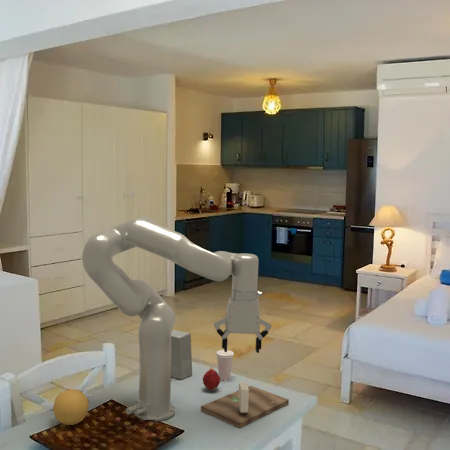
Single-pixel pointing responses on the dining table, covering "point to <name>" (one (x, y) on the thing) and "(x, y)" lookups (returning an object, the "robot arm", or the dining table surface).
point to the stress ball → (70, 407)
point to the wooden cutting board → (257, 407)
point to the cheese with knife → (243, 398)
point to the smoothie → (224, 363)
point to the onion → (211, 379)
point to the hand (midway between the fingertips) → (241, 351)
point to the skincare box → (181, 354)
